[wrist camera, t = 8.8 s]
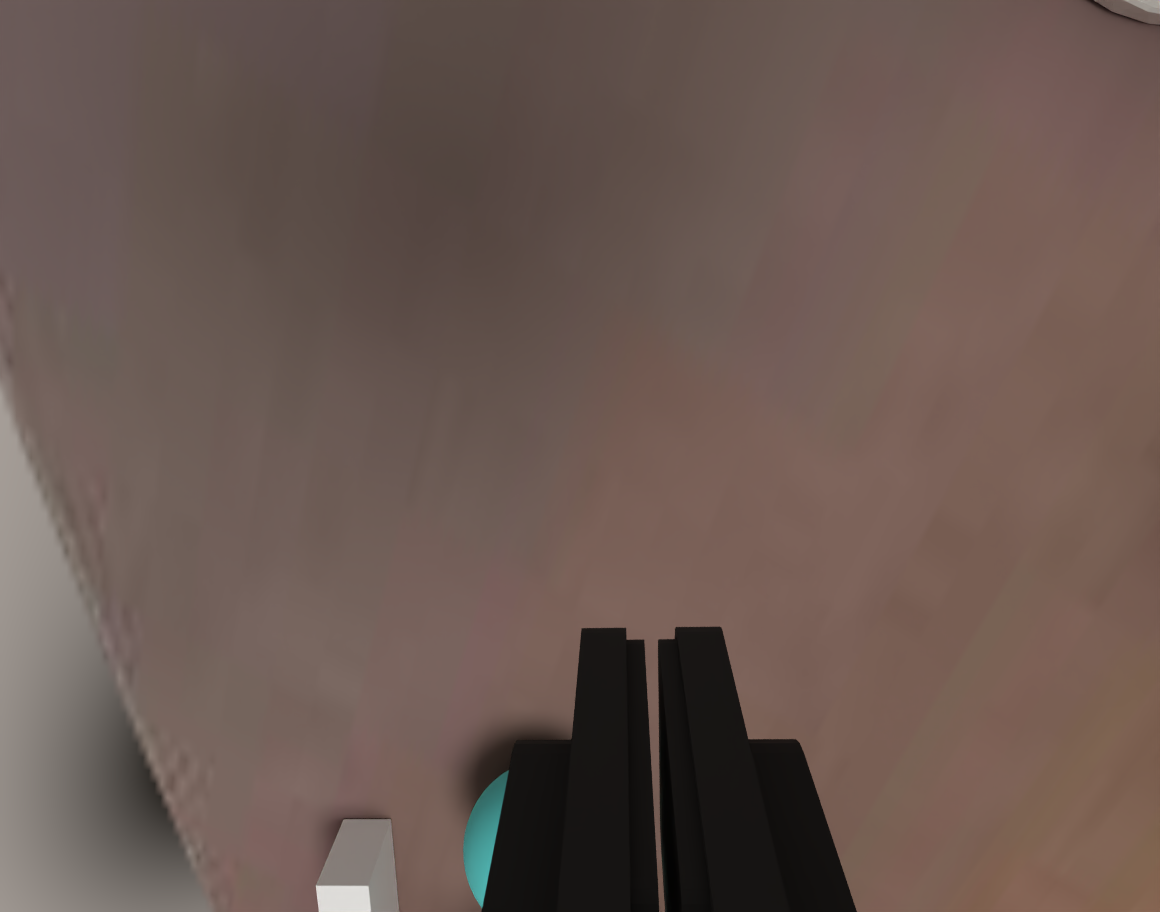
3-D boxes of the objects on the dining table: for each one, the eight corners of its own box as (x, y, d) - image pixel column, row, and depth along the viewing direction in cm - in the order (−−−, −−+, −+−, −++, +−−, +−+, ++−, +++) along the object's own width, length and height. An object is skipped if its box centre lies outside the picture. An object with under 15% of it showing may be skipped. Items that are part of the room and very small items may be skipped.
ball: (599, 989, 28) (641, 831, 33) (589, 916, 25) (638, 751, 29) (450, 936, 30) (510, 794, 34) (421, 861, 26) (491, 713, 31)
